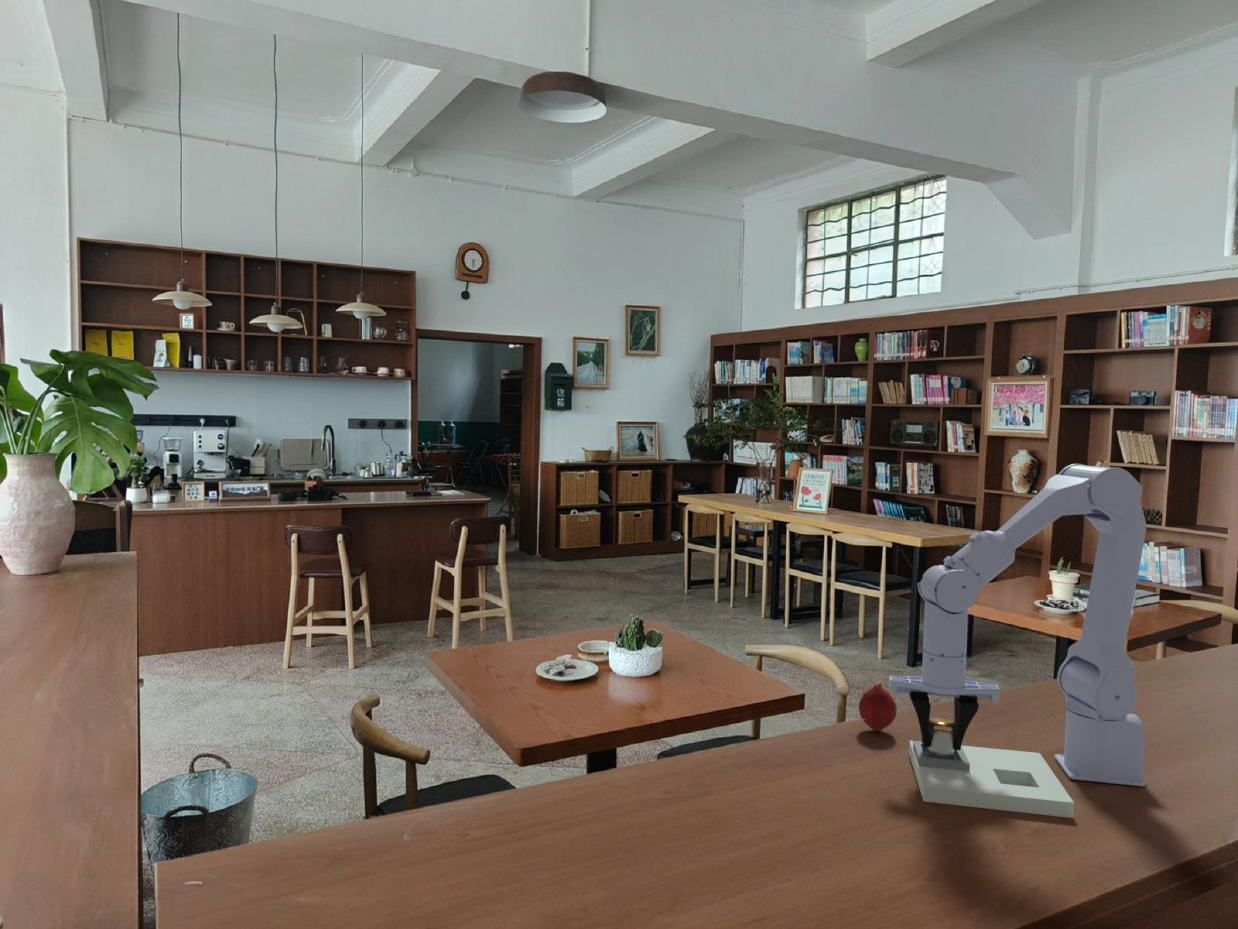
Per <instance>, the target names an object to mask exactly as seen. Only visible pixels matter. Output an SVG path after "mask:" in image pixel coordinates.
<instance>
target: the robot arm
mask: <svg viewBox="0 0 1238 929" xmlns="http://www.w3.org/2000/svg"><path fill="white" fill-rule="evenodd" d="M1142 495H1143V485H1142V484H1141V483H1140V482H1138V480H1137V479H1136V478H1135V477H1134V476H1133V475H1132V474H1131V473H1130V472H1129V471H1127V470H1126V469H1123V468H1121V467H1111V466H1110V467H1105V466H1104V467H1103V466H1095V465H1094V466H1092V465H1085V464H1083V463H1072V464H1070V465H1067V466H1065V467H1063V469H1061V470H1060V471H1059V473H1058V474H1055V475H1053V476H1051V477H1050V478H1049V479H1048V480H1047V482H1046V483H1045V485H1044V487H1043V488H1042V489H1041V490H1040V491H1039V492H1038V493H1037V494H1036V495H1035V496H1034V497H1032V499H1030V500H1029V501H1028V502H1027V503H1026V504H1025V505H1023V507H1022V508H1020V509H1019V511H1017V512H1016V513H1015V514H1014V515H1013V516H1012V517H1011V518H1009V520H1008V521H1006V522H1005V523H1004V524H1003V525H1002V526H1001V527H999V529H998V530H995V531H993V530H983V531H981V532H980V533H978V532H973V533H972V534H971V535H970V536H969V537H968V539H969V542H968V543H966V544H965V545H964V546H963V547H962V548H960V549H959V550H958V551H957V552H955V553H954V554H953V555H952V556H950V555H947V556H946V557H945V558H944V559H943V564H938V565H933V566H931V567H930V568H928V569H927V570H926V571H925V572H924V573H923V574H922V579H920V582H917V590H918V593H919V595H920V597H921V598H922V599H923V601H924V617H923V638H922V641H923V642H922V643H923V644H922V664H921V665H922V666H921V667H922V668H921V669H922V670H921V671H922V672H921V675H914V676H913V675H912V676H911V675H910V676H909V675H907V676H894V675H889V676H888V693H889V694H894V695H895V694H898V693H899V694H901V693H902V694H909V698H910V701H911V703H912V705H913V708H914V711H915V713H916V716H917V720H918V724H919V728H920V733H921V742H922V744H923V746H924V747H929V720H930V719H931V718H930V716H931V715H930V714H931V708H932V707H931V706H932V705H931V702H930V697H929V696H937V697H948V698H953V702H954V710H953V711H954V714H953V715H954V717H953V718H954V721H953V722H954V723H955V750H960V749H961V746H962V744H963V740H964V738H965V735H966V732H967V730H968V727H969V726H970V724H971V722H972V720H973V718H974V717H975V716H976V715H977V713H978V710H979V707H980V705H979V703H978V700H983V701H985V700H986V701H991V702H992V703H1000V695H1001V689H1000V687H999V686H998V685H997V684H995V683H985V682H980V681H972V680H967V679H966V677H967V676H966V674H967V673H966V672H967V649H968V648H967V646H968V645H967V644H968V643H967V642H968V623H969V618H968V616H969V608H973V607H974V605H976V602H977V599H978V595H979V592H980V590H982V589H983V588H984V587H985V586H986V585H987V584H988V583H989V582H990V581H992V580H994V579H995V578H996V577H997V576H998V575H999V574H1000V573H1002V572H1003V571H1004V570H1006V569H1007V568H1008V567H1009V566H1010V565H1011V564H1013V563H1014V562H1015V558H1016V549H1017V548H1019V547H1020V546H1022V545H1024V543H1026V542H1027V541H1029V540H1030V539H1032V538H1033V537H1034V536H1036V535H1037V534H1038V533H1040V532H1041V531H1043V530H1044V529H1046V528H1047V527H1048V526H1050V525H1051V524H1052V523H1054V522H1055V521H1057V520H1058V519H1059V518H1061V517H1063V516H1073V515H1075V516H1076V515H1083V516H1084V517H1085V518H1086V519H1087V520H1088V521H1089V523H1090V524H1091V525H1092V526H1093V527H1094V528H1095V529H1096V530H1097V532H1098V535H1099V536H1098V539H1097V546H1096V550H1095V551H1096V552H1095V557H1094V562H1093V569H1092V574H1091V580H1090V585H1089V591H1088V597H1087V602H1086V607H1085V614H1084V620H1083V624H1082V630H1081V636H1080V639H1078V640H1077V641H1076V642H1075V643H1073V644H1071V645H1070V646H1069V647H1068V648H1067V655H1066V658H1065V659H1064V661H1063V663H1061V665H1060V666H1059V668H1058V671H1057V675H1056V676H1057V677H1056V679H1057V684H1058V686H1059V689H1060V690H1061V691H1062V693H1063V694H1065V697H1064V698H1065V700H1064V701H1065V703H1066V709H1065V710H1066V714H1065V727H1064V728H1065V729H1064V730H1065V732H1064V733H1065V734H1064V754H1059V753H1058V754H1054V759H1055V760H1056V762H1058V764H1059V765H1060V767H1061V768H1062V770H1063V772H1065V774H1066V775H1067V776H1068V777H1069V779H1071V780H1074V781H1075V780H1076V781H1077V780H1079V781H1086V782H1096V783H1105V784H1117V785H1126V786H1127V785H1128V786H1134V787H1135V786H1137V787H1145V782H1144V762H1145V745H1146V744H1145V741H1146V739H1145V738H1146V737H1145V730H1144V726H1143V723H1142V720H1141V719H1140V717H1139V716H1138V715H1137V714H1134V713H1131V712H1133V710H1134V709H1135V707H1136V705H1137V702H1138V698H1139V697H1138V696H1139V695H1138V694H1139V693H1138V689H1137V685H1136V681H1135V680H1136V678H1135V676H1136V672H1137V670H1136V667H1135V666H1136V665H1134V663H1133V661H1132V660H1131V658H1130V657H1129V655H1128V652H1127V651H1126V644H1127V637H1128V633H1129V626H1130V621H1131V616H1132V612H1133V605H1134V601H1135V600H1134V599H1135V594H1136V590H1137V589H1136V588H1137V582H1138V577H1139V571H1140V566H1141V562H1142V554H1143V550H1144V544H1145V539H1146V533H1147V523H1146V522H1147V521H1146V517H1145V515H1144V511H1143V506H1142V502H1141V499H1142Z"/></svg>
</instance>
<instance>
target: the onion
mask: <svg viewBox="0 0 1238 929" xmlns="http://www.w3.org/2000/svg"><path fill="white" fill-rule="evenodd" d="M897 708H898V707H897V703H896V700H894V698H893V696H892V695H891V693H890V692H889V691H887V690H886V689H884V687H883V683H882V682H880V681H877V682H875V684H874V685H873V687H872V688H870V689H868V690H866V692H864V693H863V695H862V696H861V697H860V699H859V703H858V711H859V716H860V718H861V720H862V719H865V720H862V721H863V722H864V724H866V726H868V727H869V728H870V729H872V730H873V731H874V732H881V731H882V730H884V729H885V728H888V727H889V726H890V725H891V724H892V723H893V722H894V720H895V719H896V717H897Z"/></svg>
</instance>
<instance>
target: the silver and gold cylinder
mask: <svg viewBox="0 0 1238 929" xmlns="http://www.w3.org/2000/svg"><path fill="white" fill-rule="evenodd" d="M954 749H955V723H954V721H952V720H950V719H946V718H941V717H935V718H934V717H933V718H929V747H928V757H930V758H940V759H949V760H954Z"/></svg>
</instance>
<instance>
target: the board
mask: <svg viewBox="0 0 1238 929" xmlns="http://www.w3.org/2000/svg"><path fill="white" fill-rule="evenodd" d="M908 742H909V744H908V755H909V759H910V761H911V762H910V763H911V764H912V768H913V772H914V775H915V778H916V781H917V785H918V788H919V792H920V795H921V798H922V801H923V803H924V802H926V803H934V804H943V805H952V806H962V807H969V808H977V809H978V808H979V809H988V810H997V811H1003V812H1004V811H1006V812H1015V813H1023V814H1034V815H1043V816H1051V817H1059V818H1060V817H1061V818H1069V819H1074V812H1075V810H1074V809H1075V802H1074V800H1073V799H1072V798H1071V796H1070V795H1069V793H1068V792H1067V791H1066V788H1065V787H1064V786H1063V784H1062V783H1061V782H1060V780H1059V779H1058V777H1057V776H1056V775H1055V773H1054V772H1053V770H1052V769H1051V767H1050V766H1049V764H1048V763H1047V761H1046V760H1045V759H1044V757H1043V756H1042V754H1041V753H1040V752H1032V751H1031V752H1030V751H1025V750H1024V751H1023V750H1012V749H1000V748H993V747H992V748H991V747H981V746H969V745H961V749H960V750H955V749H954V760H949V759H940V758H930V757H928V747H924V746H923V744H922V741H919V740H908Z"/></svg>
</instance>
